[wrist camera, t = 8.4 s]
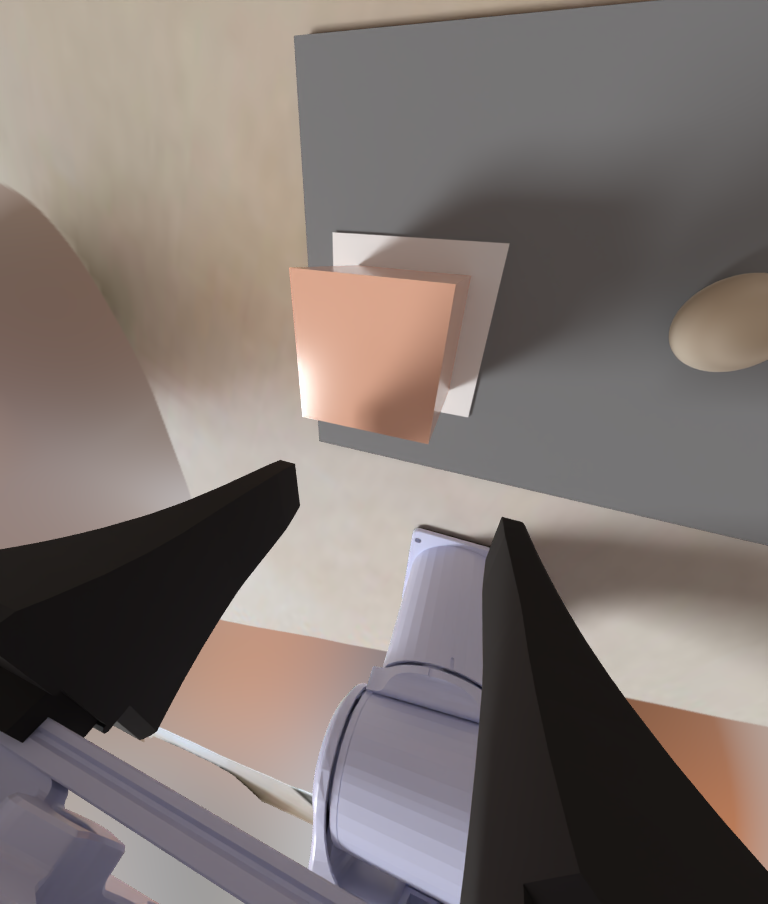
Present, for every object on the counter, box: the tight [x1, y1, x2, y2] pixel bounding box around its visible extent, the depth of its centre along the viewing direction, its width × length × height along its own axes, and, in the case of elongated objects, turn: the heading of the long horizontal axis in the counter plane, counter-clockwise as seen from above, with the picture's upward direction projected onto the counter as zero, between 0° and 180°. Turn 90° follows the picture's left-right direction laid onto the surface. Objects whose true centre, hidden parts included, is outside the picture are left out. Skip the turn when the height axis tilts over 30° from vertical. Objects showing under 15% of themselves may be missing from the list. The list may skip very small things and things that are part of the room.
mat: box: [294, 0, 768, 546], centre depth 14 cm, size 18×27×1 cm, turn 86°
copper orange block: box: [289, 265, 472, 444], centre depth 13 cm, size 5×5×6 cm
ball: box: [669, 273, 768, 372], centre depth 11 cm, size 3×3×3 cm
